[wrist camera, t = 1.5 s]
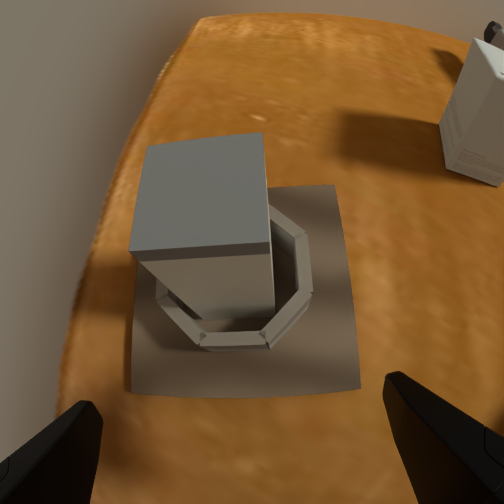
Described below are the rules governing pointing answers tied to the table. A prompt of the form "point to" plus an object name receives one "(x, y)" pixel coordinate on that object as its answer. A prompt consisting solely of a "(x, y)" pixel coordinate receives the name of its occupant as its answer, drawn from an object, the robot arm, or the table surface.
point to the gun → (494, 35)
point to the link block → (208, 225)
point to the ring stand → (259, 329)
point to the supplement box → (476, 117)
